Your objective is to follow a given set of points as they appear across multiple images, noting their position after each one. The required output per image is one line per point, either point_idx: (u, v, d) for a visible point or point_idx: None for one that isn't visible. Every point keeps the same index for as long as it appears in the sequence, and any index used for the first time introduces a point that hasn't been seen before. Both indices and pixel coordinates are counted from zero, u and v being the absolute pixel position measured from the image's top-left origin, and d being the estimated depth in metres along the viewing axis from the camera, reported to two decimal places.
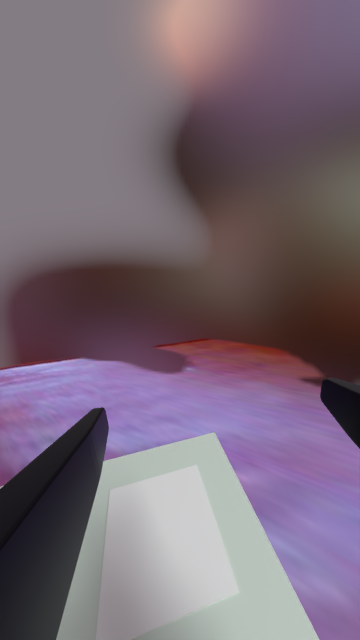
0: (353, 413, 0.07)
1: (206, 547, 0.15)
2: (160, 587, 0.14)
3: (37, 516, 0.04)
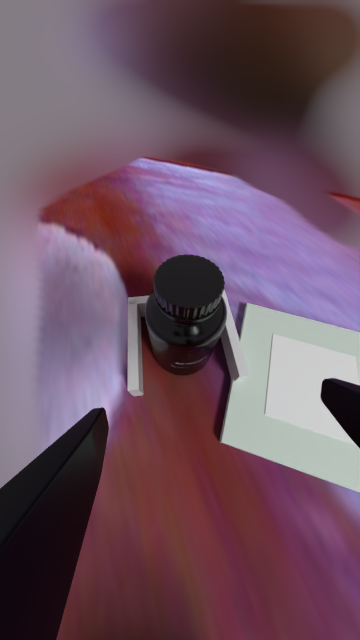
0: (353, 413, 0.07)
1: None
2: (308, 411, 0.20)
3: (37, 516, 0.04)
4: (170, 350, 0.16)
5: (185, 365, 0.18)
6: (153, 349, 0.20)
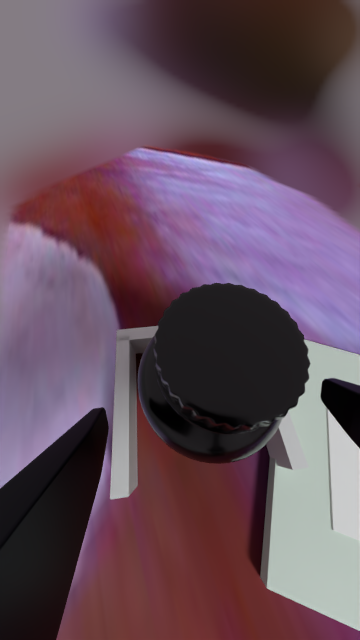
0: (353, 413, 0.07)
1: None
2: None
3: (37, 516, 0.04)
4: None
5: None
6: None
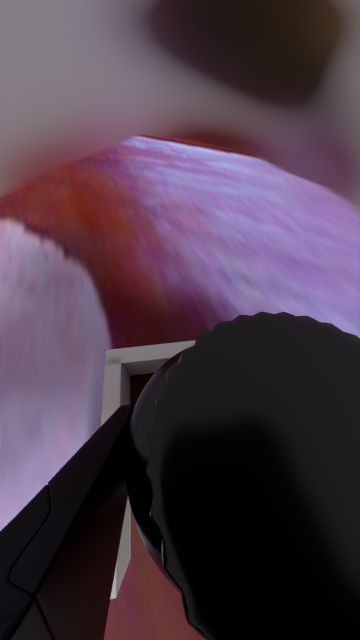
0: None
1: None
2: None
3: (90, 507, 0.04)
4: None
5: None
6: None
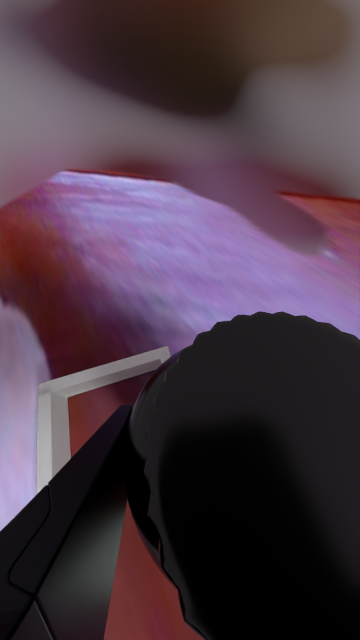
0: None
1: None
2: None
3: (90, 507, 0.04)
4: None
5: None
6: None
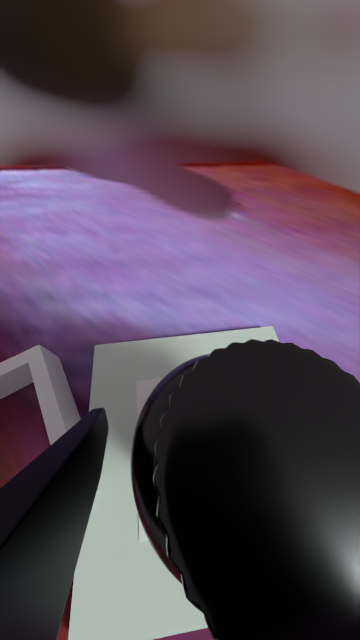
0: None
1: None
2: None
3: (37, 516, 0.04)
4: None
5: None
6: None
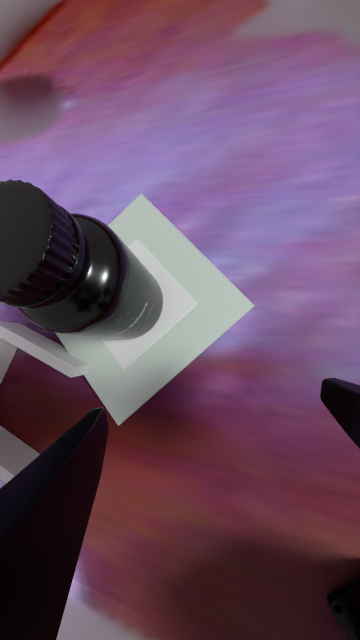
0: (353, 413, 0.07)
1: (167, 293, 0.19)
2: None
3: (37, 516, 0.04)
4: (88, 333, 0.12)
5: (130, 328, 0.14)
6: None
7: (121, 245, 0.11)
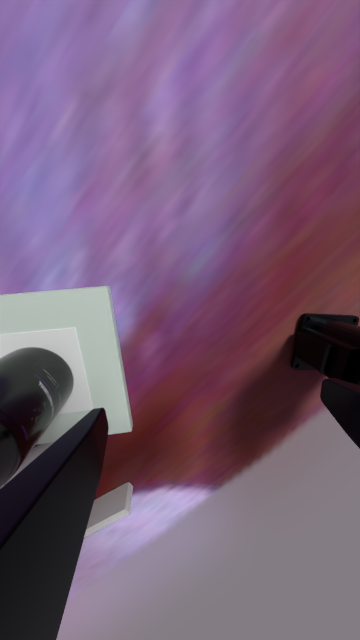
0: (353, 413, 0.07)
1: (49, 343, 0.19)
2: None
3: (37, 516, 0.04)
4: (30, 449, 0.13)
5: (54, 403, 0.16)
6: None
7: None
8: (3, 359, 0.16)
